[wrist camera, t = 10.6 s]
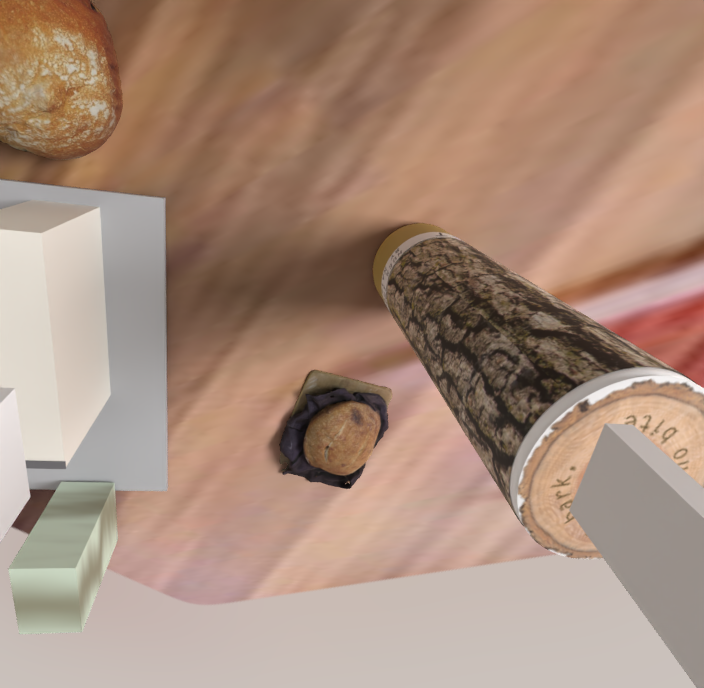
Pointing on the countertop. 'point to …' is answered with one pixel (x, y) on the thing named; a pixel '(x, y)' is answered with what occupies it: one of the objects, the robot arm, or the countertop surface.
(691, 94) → the countertop surface
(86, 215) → the block
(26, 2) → the bread roll
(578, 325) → the paper tube
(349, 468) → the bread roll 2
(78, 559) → the pale green block
